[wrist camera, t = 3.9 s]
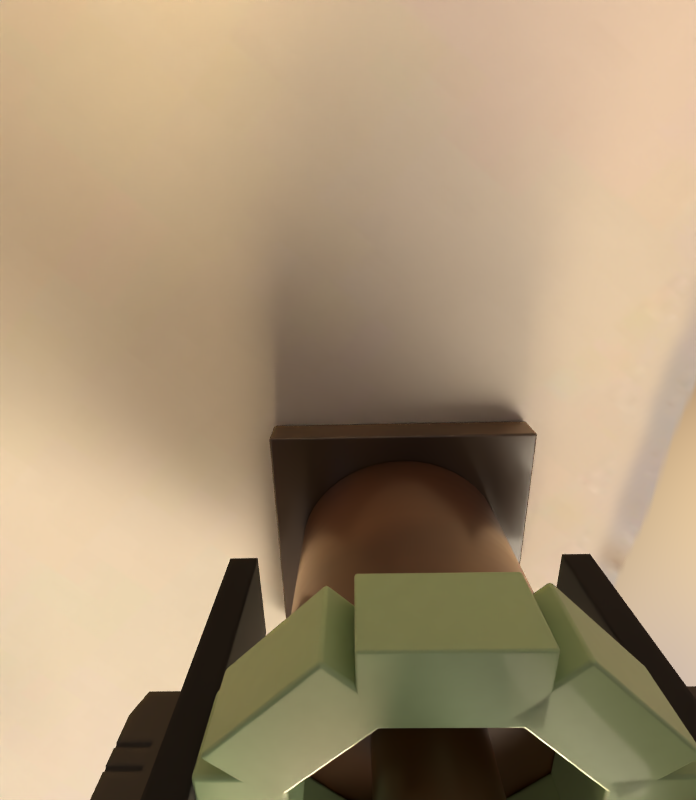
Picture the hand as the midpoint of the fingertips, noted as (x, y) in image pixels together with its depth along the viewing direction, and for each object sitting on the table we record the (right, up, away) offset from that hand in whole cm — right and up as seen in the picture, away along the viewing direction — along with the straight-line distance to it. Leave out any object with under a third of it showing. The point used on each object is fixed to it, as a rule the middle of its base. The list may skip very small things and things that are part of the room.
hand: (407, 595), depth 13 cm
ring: (0, -1, -4) cm, 4 cm away
